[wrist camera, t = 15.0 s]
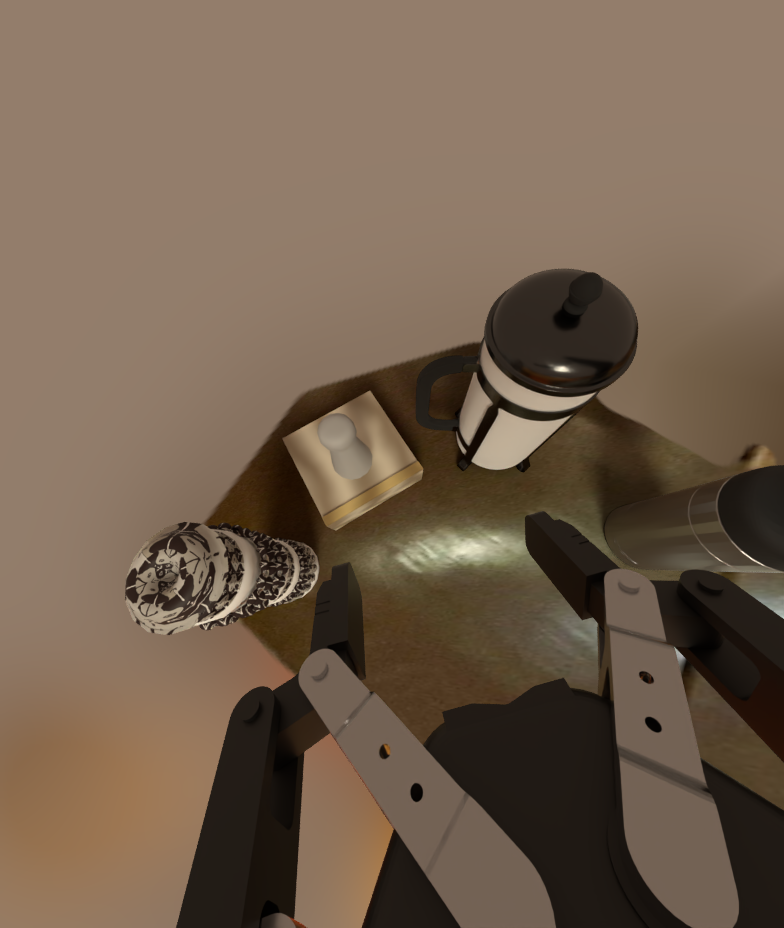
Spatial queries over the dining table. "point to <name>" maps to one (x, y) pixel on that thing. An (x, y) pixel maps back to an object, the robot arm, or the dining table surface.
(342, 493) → the wood block
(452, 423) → the coffee press
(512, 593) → the dining table surface
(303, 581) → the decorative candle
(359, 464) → the salt shaker
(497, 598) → the dining table surface
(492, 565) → the dining table surface
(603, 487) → the dining table surface
